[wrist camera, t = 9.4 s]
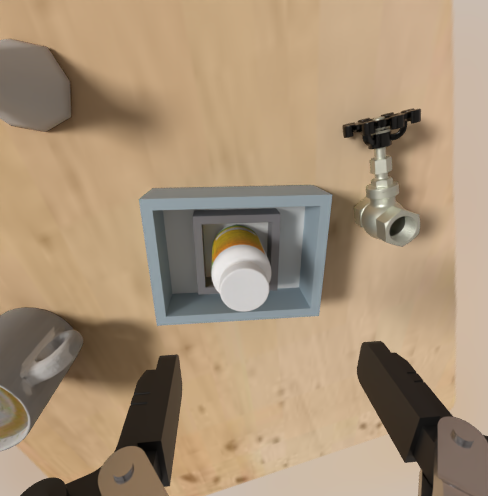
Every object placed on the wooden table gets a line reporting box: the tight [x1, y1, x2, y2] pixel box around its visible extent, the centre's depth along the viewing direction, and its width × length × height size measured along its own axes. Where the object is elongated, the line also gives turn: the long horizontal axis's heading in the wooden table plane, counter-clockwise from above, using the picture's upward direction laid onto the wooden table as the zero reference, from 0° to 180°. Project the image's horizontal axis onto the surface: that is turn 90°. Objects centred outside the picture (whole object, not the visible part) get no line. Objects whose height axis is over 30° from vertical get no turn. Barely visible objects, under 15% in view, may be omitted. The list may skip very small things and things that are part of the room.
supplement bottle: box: [211, 224, 271, 312], centre depth 27 cm, size 5×5×10 cm
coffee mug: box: [0, 308, 83, 451], centre depth 30 cm, size 13×10×10 cm
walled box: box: [139, 185, 332, 326], centre depth 30 cm, size 13×17×6 cm
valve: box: [343, 109, 421, 247], centre depth 28 cm, size 7×7×12 cm
